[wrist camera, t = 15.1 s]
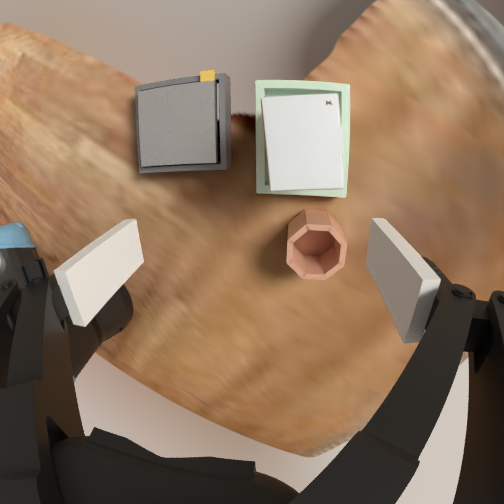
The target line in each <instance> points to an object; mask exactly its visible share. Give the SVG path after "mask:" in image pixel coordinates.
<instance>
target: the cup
mask: <svg viewBox="0 0 504 504" xmlns="http://www.w3.org/2000/svg"><path fill="white" fill-rule="evenodd" d="M346 249H347V242H346V239H345V237H344V235H343V232H342V230H341V228H340V226H339V224H338V223H337V222H336V221H335V220H334V219H333V218H332V216H331V215H330V214H329V213H328V212H327V211H326V210H308V209H305V210H303V211H302V212H301V213H300V214H299V215H297V216H296V217H295V218H294V219H293V220H292V221H291V222H289V224H288V239H287V261H286V262H287V264H288V265H289V266H290V267H291V268H292V269H293V270H294V271H295V272H296V273H297V274H298V275H299V276H300V277H301V278H303V279H320V280H325V279H327V278H329V277H330V276H331V275H333V274H334V273H335V272H337V271H338V270H339V269H340V268H342V267H343V266H344V263H345V256H346Z"/></svg>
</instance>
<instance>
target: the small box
mask: <svg viewBox="0 0 504 504" xmlns="http://www.w3.org/2000/svg"><path fill="white" fill-rule="evenodd" d="M261 110H262V119H263V129H264V138H265V148H266V158H267V167H268V178H269V188H270V191H289V190H333V189H343V188H344V162H343V135H342V125H341V116H340V106H339V97H338V94H337V93H328V94H305V95H289V96H277V97H265V98H261Z"/></svg>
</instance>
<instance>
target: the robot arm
mask: <svg viewBox="0 0 504 504" xmlns="http://www.w3.org/2000/svg"><path fill="white" fill-rule="evenodd" d="M143 262H144V260H143V255H142V250H141V244H140V239H139V234H138V228H137V222H136V219H125V220H124V221H122V222H121V223H119V224H118V225H116V226H115V227H113V228H112V229H110V230H109V231H107V232H106V233H104V234H103V235H102V236H100V237H99V238H97V239H96V240H94V241H93V242H92V243H90V244H89V245H87V246H86V247H85V248H83V249H82V250H80V251H79V252H78V253H76V254H75V255H74V256H72V257H71V258H70V259H68V260H67V261H66V262H64V263H63V264H62V265H60V266H59V267H58V268H57V269H55V270H54V274H53V275H52V276H51V277H49V275H48V272H47V269H46V266H45V262H44V259H43V258H39V255H38V253H37V250H36V245H34V243H33V241H32V239H31V237H30V235H29V232H28V230H27V228H26V226H25V225H24V224H22V223H20V222H13V223H9V224H6V225H3V226H0V504H395V503H396V502H397V500H398V499H399V497H400V496H401V494H402V493H403V491H404V490H405V488H406V487H407V485H408V483H409V482H410V480H411V479H412V477H413V475H414V474H415V472H416V470H417V468H418V465H419V462H420V461H419V460H418V458H419V456H420V454H421V452H422V450H423V448H424V446H425V444H426V442H427V441H428V439H429V437H430V435H431V433H432V430H433V429H434V426H435V424H436V422H437V420H438V418H439V416H440V413H441V411H442V409H443V406H444V404H445V402H446V399H447V396H448V394H449V392H450V389H451V386H452V384H453V381H454V378H455V375H456V372H457V369H458V366H459V363H460V360H461V357H462V354H463V351H465V352H468V357H469V403H468V420H467V430H466V439H465V447H464V454H463V460H462V466H461V471H460V476H459V481H458V485H457V490H456V494H455V498H454V502H453V504H504V292H503V291H493V293H492V294H491V297H490V299H489V302H488V301H481V300H476V295H475V294H474V292H473V291H472V290H471V289H469V288H468V287H465V286H463V285H459V284H452V283H451V282H450V281H449V280H448V278H447V277H446V276H445V275H444V274H443V273H442V272H441V271H440V269H438V267H437V266H436V265H435V264H434V263H433V262H432V261H430V260H429V259H427V258H425V257H421V256H420V255H419V254H418V253H417V252H416V251H415V250H414V248H413V247H412V246H411V245H410V244H409V243H408V242H407V241H406V240H405V239H404V238H403V237H402V236H401V235H400V234H399V233H398V232H397V231H396V230H395V229H394V228H393V227H392V226H391V225H390V224H389V223H388V222H387V221H386V220H385V219H384V218H371V227H370V236H369V244H368V252H367V259H366V266H367V268H368V270H369V272H370V274H371V276H372V278H373V280H374V282H375V284H376V286H377V288H378V290H379V292H380V294H381V296H382V298H383V300H384V302H385V304H386V306H387V308H388V310H389V312H390V314H391V317H392V319H393V321H394V323H395V325H396V327H397V330H398V332H399V334H400V336H401V339H402V341H403V343H413V342H419V344H418V346H417V348H416V350H415V352H414V353H413V355H412V357H411V359H410V360H409V362H408V364H407V365H406V367H405V369H404V370H403V372H402V374H401V375H400V377H399V379H398V380H397V382H396V383H395V385H394V386H393V388H392V390H391V391H390V393H389V394H388V396H387V397H386V399H385V400H384V401H383V403H382V404H381V406H380V407H379V409H378V410H377V411H376V413H375V414H374V415H373V417H372V418H371V420H370V421H369V422H368V424H367V425H366V426H365V427H364V429H363V430H362V431H358V432H357V433H356V434H355V435H354V436H353V438H352V439H351V440H350V441H349V442H348V443H347V444H346V446H345V447H344V448H343V449H342V450H341V451H340V453H339V454H338V455H337V456H336V457H335V458H334V459H333V460H332V462H331V463H330V464H329V465H328V466H327V467H326V468H325V469H324V470H323V471H322V472H321V473H320V474H319V475H318V476H317V477H316V478H315V479H314V480H313V481H312V482H311V483H310V484H309V485H308V486H307V487H306V488H305V489H304V490H303V491H302V492H301V493H300V494H299V493H298V492H297V491H296V490H295V489H293V488H292V487H290V486H289V485H287V484H285V483H284V482H282V481H280V480H278V479H276V478H273V477H271V476H268V475H266V474H263V473H259V472H256V468H255V462H254V461H242V460H232V459H224V458H216V457H193V458H192V457H190V458H164V457H160V456H158V455H156V454H154V453H152V452H150V451H148V450H146V449H145V448H143V447H141V446H139V445H138V444H136V443H134V442H132V441H131V440H129V439H127V438H125V437H122V436H118V435H116V434H113V433H110V432H107V431H103V430H101V429H98V428H96V427H94V429H93V431H92V433H91V435H90V436H85V434H84V431H83V426H82V422H81V418H80V413H79V409H78V403H77V398H76V392H75V387H74V382H75V380H76V377H77V376H78V375H79V373H80V372H81V370H82V369H83V368H84V366H85V365H86V363H87V362H88V361H89V359H90V358H91V356H92V355H93V354H94V353H95V351H96V350H97V348H98V347H99V346H100V345H101V343H102V342H104V341H106V340H107V339H109V338H111V337H113V336H114V335H115V334H118V333H120V332H121V331H122V330H124V329H125V327H126V326H127V325H128V323H129V322H130V321H131V318H132V315H133V305H132V301H131V298H130V295H129V293H128V291H127V289H126V288H125V286H124V285H123V284H124V283H125V281H126V280H127V279H128V278H129V277H130V276H131V275H132V274H133V273H134V272H135V271H136V270H137V269H138V267H139V266H140V265H141V264H142V263H143ZM425 330H426V331H425ZM424 331H425V333H424ZM423 334H424V335H423ZM422 336H423V337H422Z"/></svg>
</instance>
